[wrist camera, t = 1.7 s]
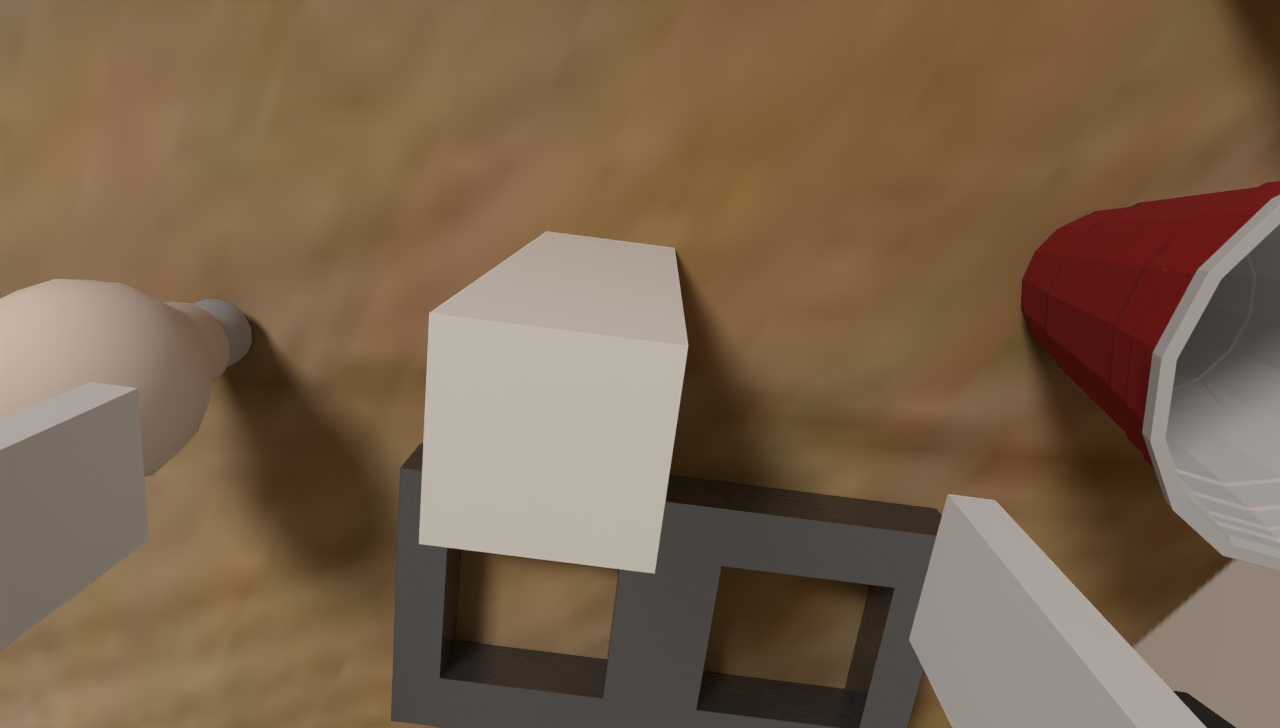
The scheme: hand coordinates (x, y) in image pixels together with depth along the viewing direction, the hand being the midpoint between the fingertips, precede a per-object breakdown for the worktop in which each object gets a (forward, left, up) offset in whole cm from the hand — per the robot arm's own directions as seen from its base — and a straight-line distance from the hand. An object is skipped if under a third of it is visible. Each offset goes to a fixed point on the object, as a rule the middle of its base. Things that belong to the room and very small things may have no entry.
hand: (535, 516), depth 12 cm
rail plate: (+4, -13, -18) cm, 22 cm away
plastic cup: (+19, +3, -18) cm, 26 cm away
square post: (0, 0, -18) cm, 18 cm away
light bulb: (-15, -3, -18) cm, 24 cm away
